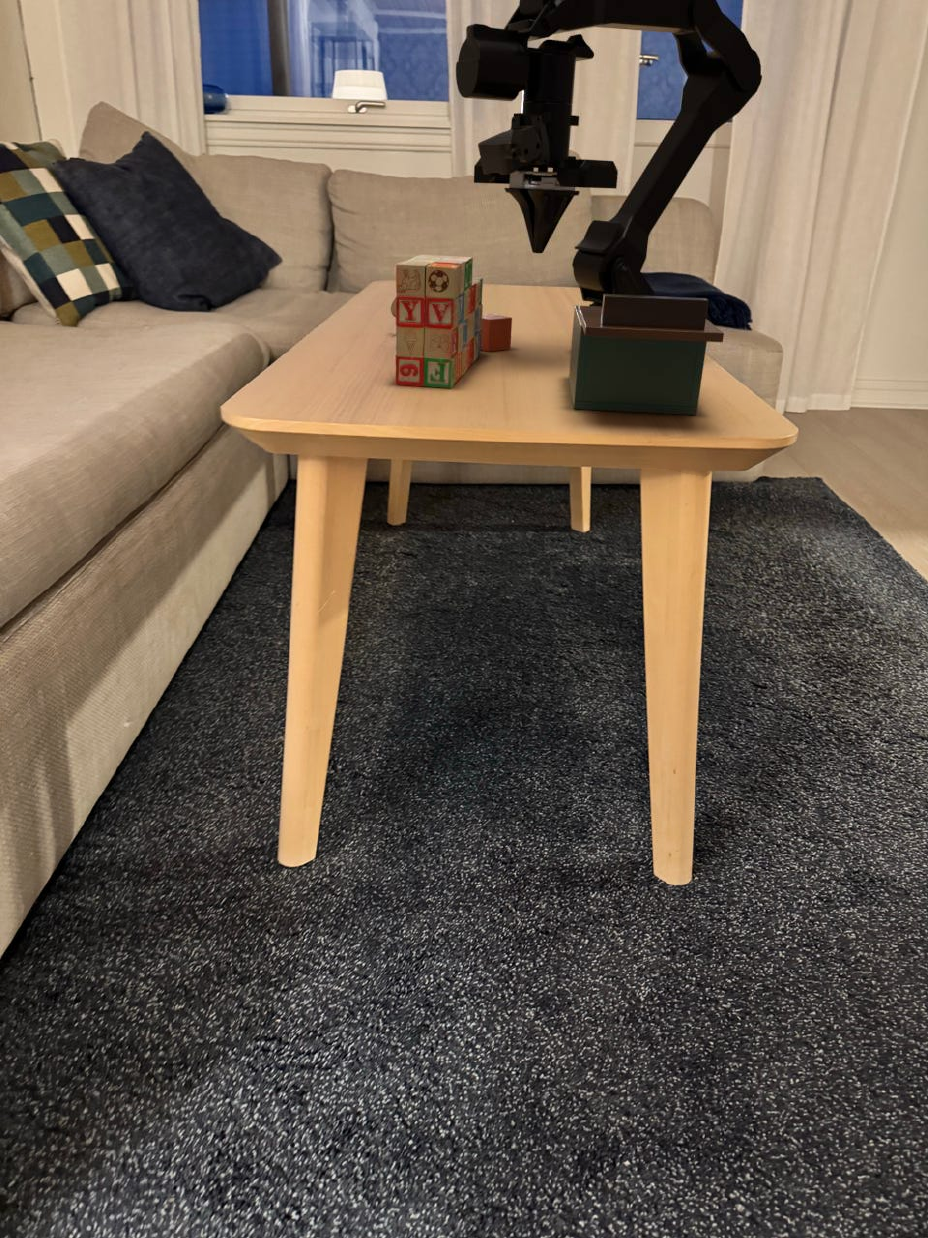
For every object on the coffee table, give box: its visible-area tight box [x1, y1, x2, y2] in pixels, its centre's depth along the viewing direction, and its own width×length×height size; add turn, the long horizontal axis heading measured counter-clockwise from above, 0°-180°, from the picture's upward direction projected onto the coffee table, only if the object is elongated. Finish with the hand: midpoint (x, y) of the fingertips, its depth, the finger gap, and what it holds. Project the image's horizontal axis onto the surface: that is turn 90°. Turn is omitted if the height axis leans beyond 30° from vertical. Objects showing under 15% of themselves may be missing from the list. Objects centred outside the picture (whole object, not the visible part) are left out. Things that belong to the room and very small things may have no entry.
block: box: [481, 313, 513, 353], centre depth 119 cm, size 4×4×4 cm
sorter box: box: [568, 305, 708, 416], centre depth 94 cm, size 15×12×8 cm
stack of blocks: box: [395, 254, 484, 389], centre depth 104 cm, size 21×6×12 cm, turn 171°
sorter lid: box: [577, 294, 725, 343], centre depth 85 cm, size 15×12×3 cm
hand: (537, 252), depth 109 cm, fingers closed
